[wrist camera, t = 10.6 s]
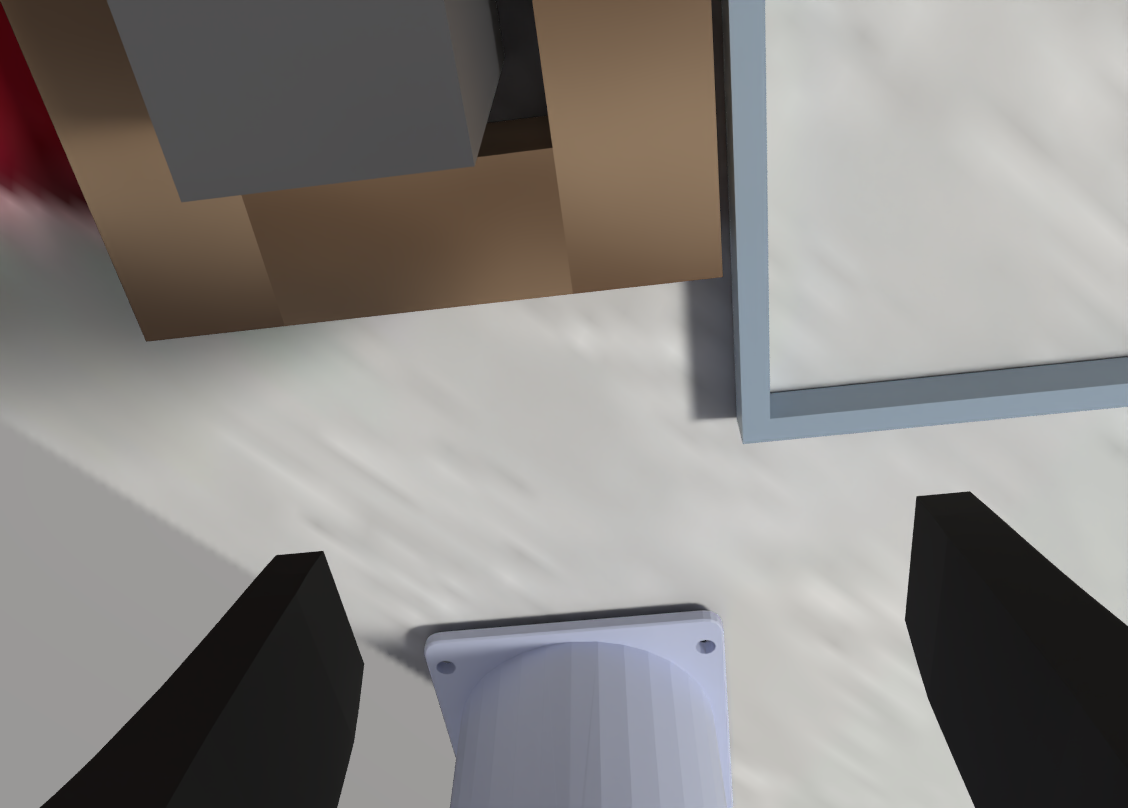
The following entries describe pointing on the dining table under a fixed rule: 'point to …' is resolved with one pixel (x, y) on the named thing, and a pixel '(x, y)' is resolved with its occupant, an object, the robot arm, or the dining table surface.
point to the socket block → (410, 184)
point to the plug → (311, 88)
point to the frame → (862, 402)
